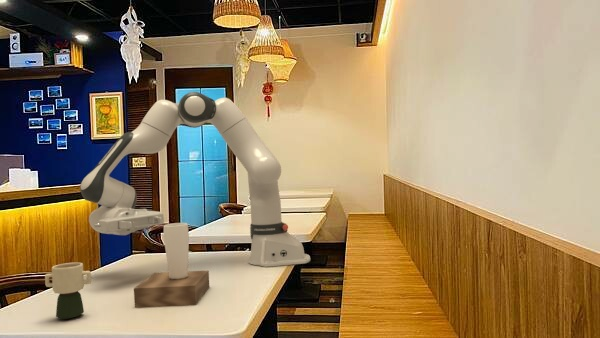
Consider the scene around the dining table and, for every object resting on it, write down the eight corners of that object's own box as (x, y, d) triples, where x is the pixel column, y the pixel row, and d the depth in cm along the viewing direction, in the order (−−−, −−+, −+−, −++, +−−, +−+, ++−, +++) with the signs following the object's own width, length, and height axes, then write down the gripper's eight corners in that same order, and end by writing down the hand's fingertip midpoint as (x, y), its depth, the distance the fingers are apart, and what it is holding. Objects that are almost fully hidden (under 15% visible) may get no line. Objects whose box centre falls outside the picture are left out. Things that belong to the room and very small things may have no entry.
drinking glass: (184, 280, 133) (181, 225, 133) (161, 280, 135) (158, 226, 135) (195, 274, 140) (192, 222, 140) (173, 274, 141) (170, 223, 141)
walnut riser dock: (209, 287, 145) (208, 270, 145) (195, 304, 127) (194, 285, 127) (155, 289, 145) (155, 272, 145) (134, 307, 127) (133, 288, 127)
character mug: (97, 311, 126) (94, 260, 126) (88, 319, 119) (85, 266, 119) (52, 314, 125) (50, 263, 124) (41, 323, 117) (38, 269, 117)
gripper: (90, 215, 151) (113, 216, 142) (148, 208, 166) (173, 208, 157) (92, 236, 151) (115, 238, 142) (150, 226, 166) (174, 228, 158)
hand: (146, 222), depth 150 cm, fingers open, 8 cm apart
